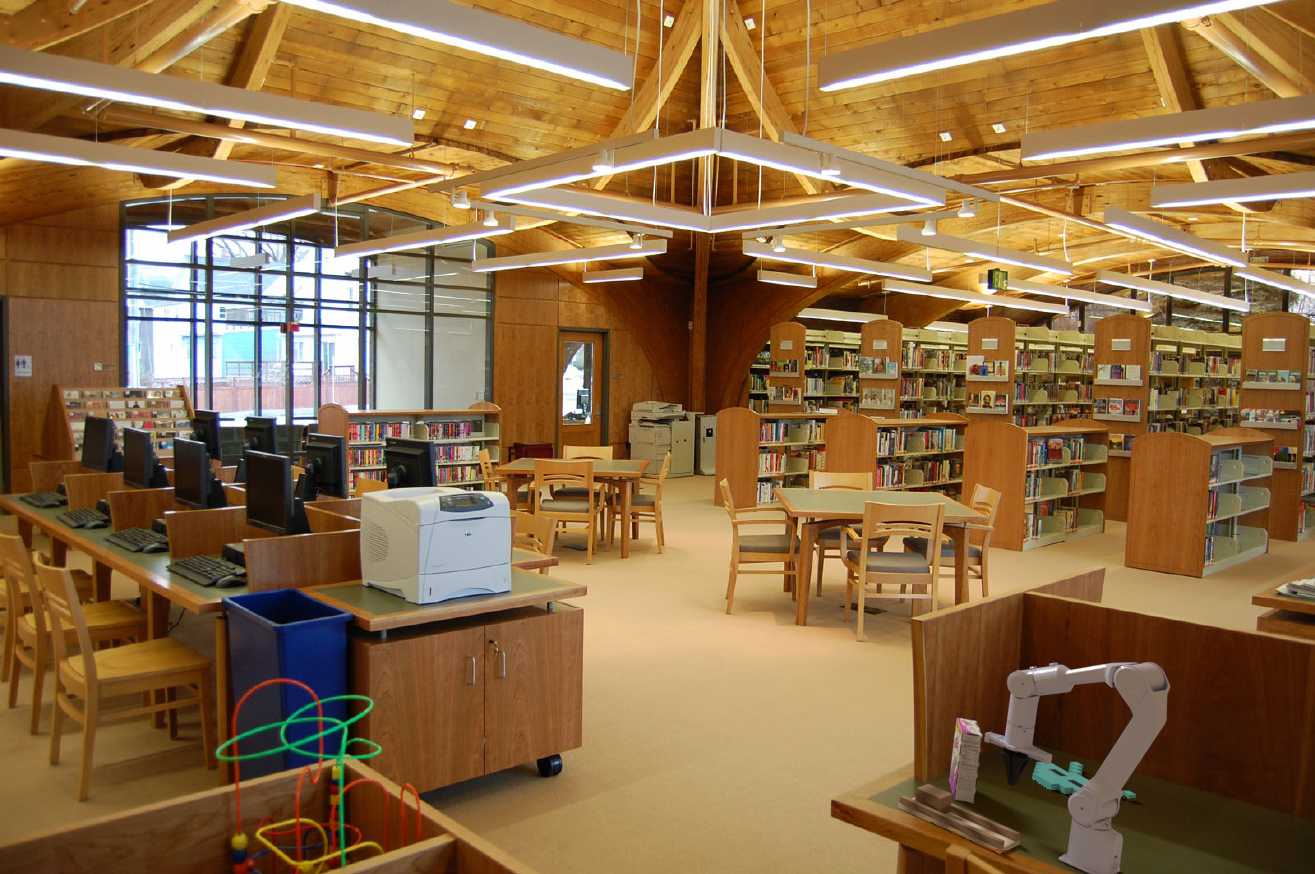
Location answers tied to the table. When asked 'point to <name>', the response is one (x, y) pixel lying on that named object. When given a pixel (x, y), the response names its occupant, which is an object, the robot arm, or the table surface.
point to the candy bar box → (965, 760)
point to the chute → (965, 824)
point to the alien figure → (1064, 778)
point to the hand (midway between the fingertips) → (1012, 784)
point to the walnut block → (934, 798)
